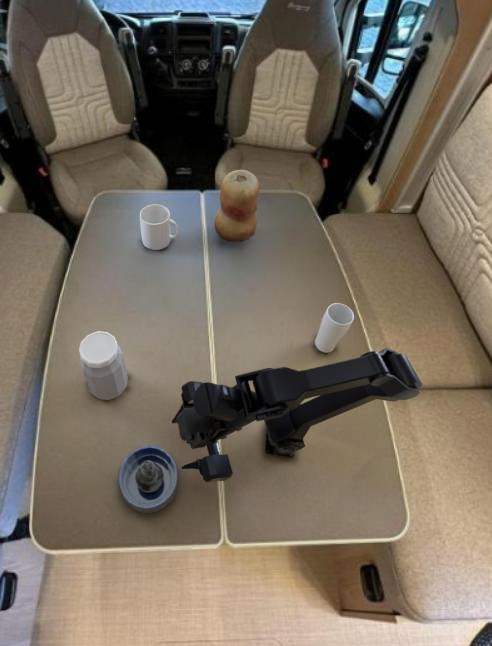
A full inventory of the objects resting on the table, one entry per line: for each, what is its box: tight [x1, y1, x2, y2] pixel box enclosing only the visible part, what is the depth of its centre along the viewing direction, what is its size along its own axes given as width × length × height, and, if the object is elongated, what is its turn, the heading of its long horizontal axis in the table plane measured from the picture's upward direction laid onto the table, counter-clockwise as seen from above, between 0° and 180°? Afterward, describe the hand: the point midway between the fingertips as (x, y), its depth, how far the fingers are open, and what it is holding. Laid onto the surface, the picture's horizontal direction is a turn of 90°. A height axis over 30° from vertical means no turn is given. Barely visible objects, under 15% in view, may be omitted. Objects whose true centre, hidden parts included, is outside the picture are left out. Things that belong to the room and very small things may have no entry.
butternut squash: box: [213, 169, 260, 243], centre depth 130 cm, size 14×13×25 cm
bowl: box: [118, 445, 178, 514], centre depth 88 cm, size 12×12×6 cm
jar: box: [78, 331, 129, 401], centre depth 97 cm, size 10×10×18 cm
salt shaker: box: [135, 460, 164, 495], centre depth 85 cm, size 6×6×12 cm
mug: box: [139, 203, 180, 251], centre depth 133 cm, size 10×12×12 cm
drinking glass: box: [314, 302, 355, 354], centre depth 108 cm, size 7×7×15 cm
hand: (178, 444), depth 85 cm, fingers open, 9 cm apart
